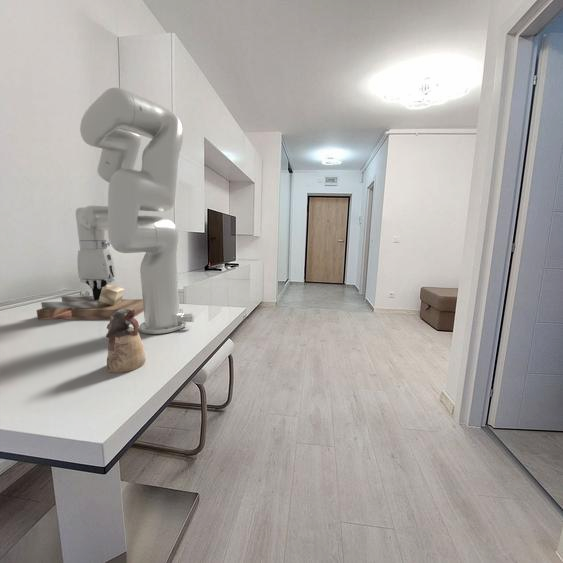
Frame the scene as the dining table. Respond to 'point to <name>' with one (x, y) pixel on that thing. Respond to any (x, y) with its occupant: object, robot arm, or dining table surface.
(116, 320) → the figurine
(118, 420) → the dining table surface
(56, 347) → the dining table surface
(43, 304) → the trap deck
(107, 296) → the block
